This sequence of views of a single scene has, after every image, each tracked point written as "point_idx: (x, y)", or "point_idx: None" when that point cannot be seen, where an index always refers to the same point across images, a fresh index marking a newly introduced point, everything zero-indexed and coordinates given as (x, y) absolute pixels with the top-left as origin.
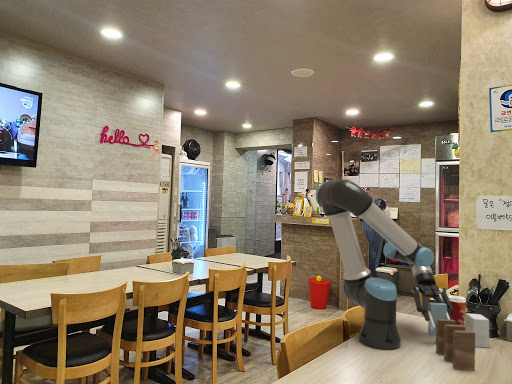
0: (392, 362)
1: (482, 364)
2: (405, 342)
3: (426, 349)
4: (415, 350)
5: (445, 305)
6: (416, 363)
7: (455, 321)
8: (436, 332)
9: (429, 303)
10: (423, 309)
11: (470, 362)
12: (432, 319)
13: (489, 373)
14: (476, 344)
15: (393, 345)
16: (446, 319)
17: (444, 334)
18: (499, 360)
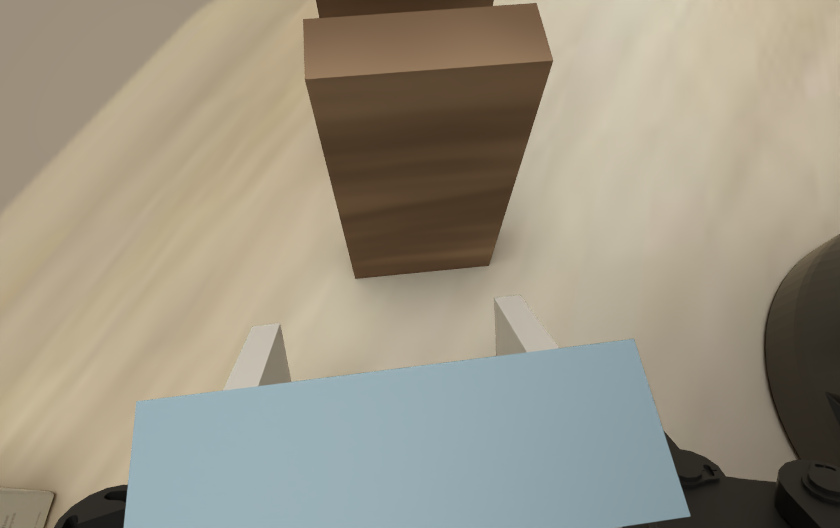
0: (798, 64)
1: (235, 132)
2: (719, 454)
3: (550, 315)
4: (643, 275)
5: (190, 400)
6: (659, 75)
7: (311, 19)
8: (517, 168)
9: (668, 462)
10: (732, 503)
11: None
12: (528, 348)
13: (271, 33)
14: (14, 488)
15: (837, 235)
16: (407, 69)
17: (492, 4)
18: (56, 215)
